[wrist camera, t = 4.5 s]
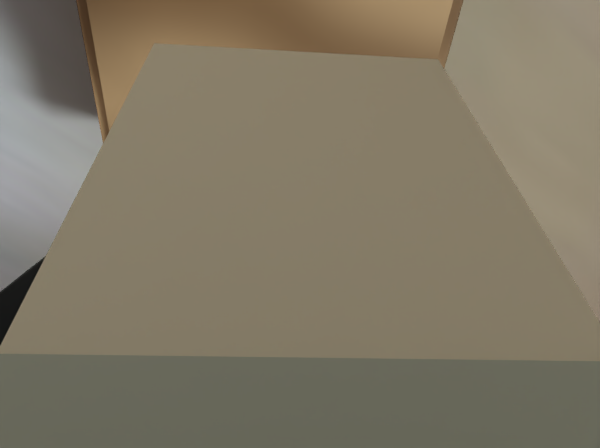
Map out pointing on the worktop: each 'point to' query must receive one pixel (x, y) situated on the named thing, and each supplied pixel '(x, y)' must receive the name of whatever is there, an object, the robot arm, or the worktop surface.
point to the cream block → (299, 273)
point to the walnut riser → (253, 33)
